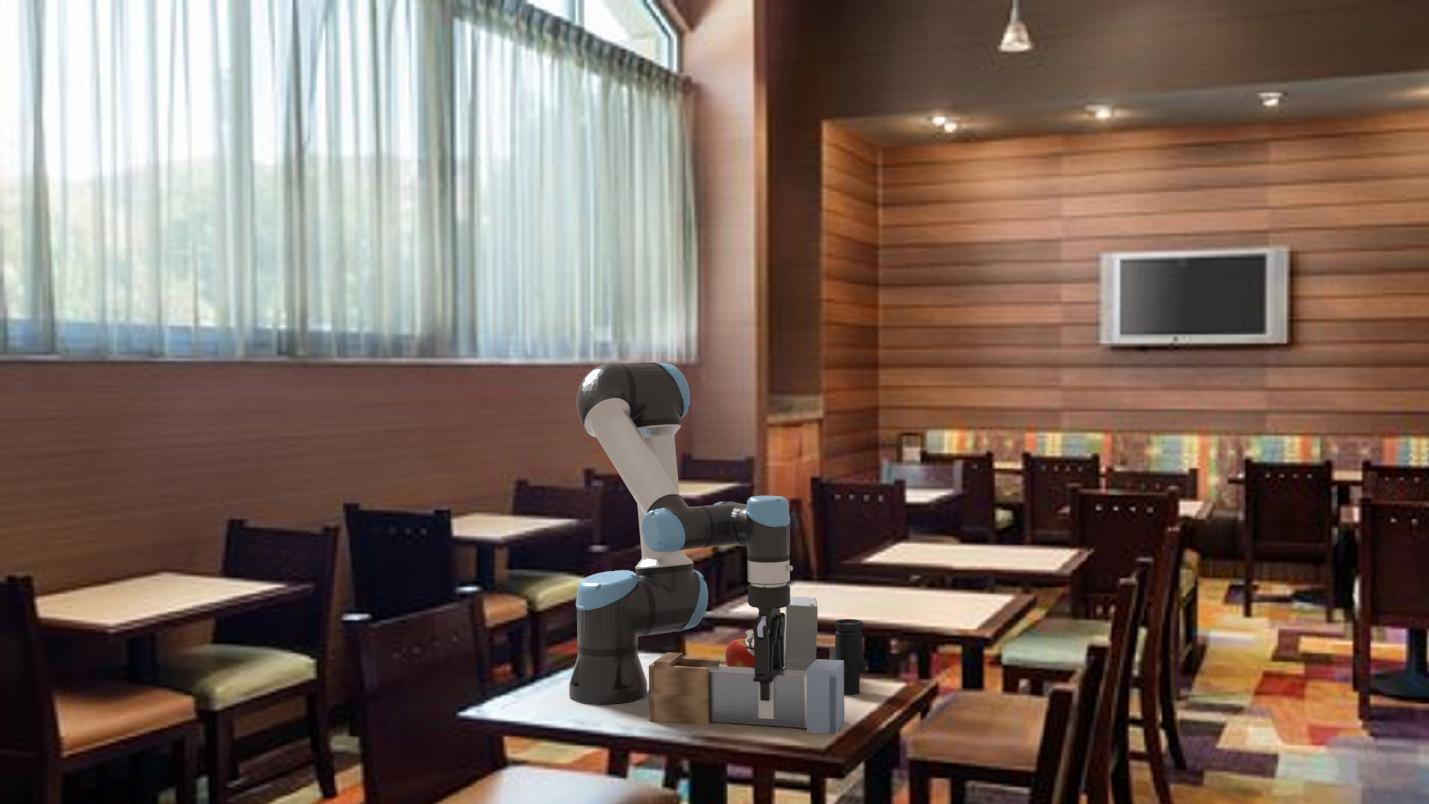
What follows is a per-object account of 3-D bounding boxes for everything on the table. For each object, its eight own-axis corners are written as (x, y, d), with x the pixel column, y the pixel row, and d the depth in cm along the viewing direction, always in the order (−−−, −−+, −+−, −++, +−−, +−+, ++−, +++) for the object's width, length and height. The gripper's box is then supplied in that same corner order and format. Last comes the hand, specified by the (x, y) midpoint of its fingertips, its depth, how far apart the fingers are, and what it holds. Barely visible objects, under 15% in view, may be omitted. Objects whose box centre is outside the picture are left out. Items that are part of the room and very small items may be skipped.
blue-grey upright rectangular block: (806, 732, 229) (806, 669, 229) (816, 720, 237) (816, 659, 236) (835, 734, 228) (834, 670, 227) (844, 721, 235) (843, 660, 235)
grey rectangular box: (696, 720, 236) (696, 670, 236) (704, 714, 241) (703, 664, 241) (811, 728, 231) (811, 677, 230) (817, 721, 235) (816, 671, 235)
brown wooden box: (649, 720, 237) (648, 661, 237) (663, 709, 245) (662, 652, 244) (707, 725, 234) (707, 664, 234) (720, 713, 242) (719, 655, 241)
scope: (829, 615, 262) (875, 619, 257) (829, 684, 263) (876, 690, 258) (811, 622, 255) (859, 627, 250) (812, 693, 255) (860, 699, 251)
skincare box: (782, 672, 274) (781, 595, 273) (817, 671, 273) (816, 595, 273) (783, 682, 265) (782, 603, 265) (819, 681, 265) (818, 603, 264)
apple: (750, 674, 272) (749, 626, 272) (773, 682, 265) (773, 632, 265) (717, 679, 267) (717, 630, 267) (740, 687, 261) (739, 637, 260)
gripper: (777, 593, 225) (778, 729, 225) (800, 576, 242) (802, 702, 242) (734, 591, 227) (736, 725, 228) (761, 574, 244) (762, 700, 244)
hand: (770, 713), depth 235 cm, fingers closed on grey rectangular box, 4 cm apart
